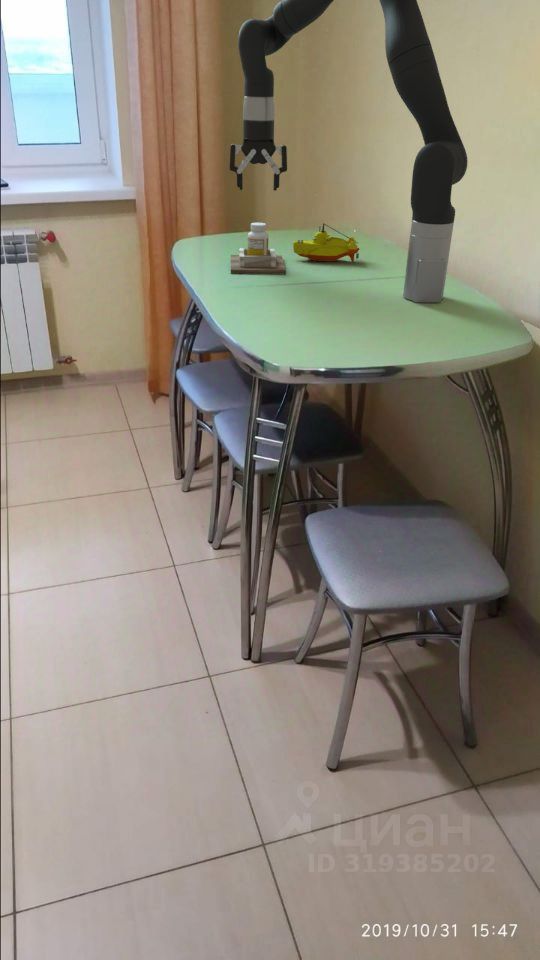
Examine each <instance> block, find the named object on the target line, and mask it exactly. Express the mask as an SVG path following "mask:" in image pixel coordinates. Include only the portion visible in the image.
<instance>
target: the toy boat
mask: <svg viewBox="0 0 540 960" xmlns="http://www.w3.org/2000/svg"><path fill="white" fill-rule="evenodd" d="M325 226H326V227H328V228H330V229H332V230H333V231H335V232H337V233H338V234H340V235H342V236H344V237H345V238H347V240H346V239H344V238H341V237H334V236H331V234H330V233H328V232H327V231H326V230H325ZM318 228H319V231H317V232H316V233H315V234H314V236H313V239H312V240H305V239H304V240H303V239H301V240H300V239H299V240H294V241H293V243H292V244H293V252H294V253H295V254H297V256H299V257H302V258H307V259H308V260H312V261H315V262H316V261H317V262H318V261H319V262H320V261H321V262H324V261H325V262H331V261H332V262H335V261H337V260H341V259H342V258H344V257H346V256H348V257H349V259H350V260H351V262H352V261H354V262H355V259H356V260H357V259H359V255H360V253H359V250H360V247H358V244H359V242H357V241H356V240H355V237H354V236H348V235H345V234H344V233H341V232H340V231H338V230H337V229H334V228H333V227H331V226H329V225H327V224H326V223H324V222H323V223H322V229H321V227H318ZM330 236H331V237H330ZM355 254H356V255H355Z"/></svg>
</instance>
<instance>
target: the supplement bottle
mask: <svg viewBox="0 0 540 960" xmlns="http://www.w3.org/2000/svg"><path fill="white" fill-rule="evenodd" d="M266 230H267V224H266V223H264V222H251V223H250V231H249V232H248V234H247V248H248V256H268V249H269V233H268V232H267V231H266Z"/></svg>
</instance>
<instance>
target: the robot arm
mask: <svg viewBox="0 0 540 960" xmlns="http://www.w3.org/2000/svg"><path fill="white" fill-rule="evenodd" d="M334 1H335V0H281V1H279V2H278V3H277V4H276V5H275V7H274V8H273V11H272V14H271V16H269V17H268V18H266V19H256V18H255V19H254V18H250V19H247V20H245V21H244V22H243V23H242V25H241V27H240V29H239V33H238V38H237V43H238V52H239V53H238V55H239V57H240V63H241V69H242V72H243V77H244V78H243V79H244V80H243V82H244V85H243V88H244V89H243V90H244V92H243V94H244V95H243V96H244V97H243V106H242V131H243V132H242V135H243V136H242V137H243V138H242V144H241V145H240V144H235V143H231V144H230V151H229V170H230V171H231V172H234V173H235V174H236V187H237V188H239V191H243V171H244V170H245V168H246V167H247V166H248V164H249V163H250V164H251V165H256V164H261V165H265V164H267V163H268V164H269V167H270V168H271V169H272V171H273V184H272V185H273V187H272V188H273V189H272V190H273V191H274V192H276V191H277V189H279V188H280V175H281V174H282V173H287V171H288V155H287V154H288V153H287V152H288V148H287V146H286V144H282V145H275V116H276V115H275V101H274V100H275V99H274V96H275V95H274V94H275V93H274V91H275V90H274V89H275V88H274V87H275V76H274V72H273V71H272V69H270V68H268V66H267V59H266V56H267V57H268V56H271V55H273V54H274V53H277V52H278V51H279V50H280V49H282V48H283V47H284V46H285V45H286V44H287V43H288V42H289V41H290V40H291V38H292V37H293V36H294V35H296V34H297V33H299V32H301V31H302V30H304V29H305V28H307V27H309V26H310V25H311V24H313V23H314V22H315V21H317V20H318V19H319V18H320V17H321V16H322V15H323V14H324V13H325V11H327V9H329V6H330V5H331V4H332V3H333V2H334ZM379 3H380V6H381V8H382V12H383V17H384V26H385V27H384V28H385V29H384V30H385V32H384V34H385V35H384V36H385V39H384V44H385V45H384V47H385V57H386V60H387V65H388V68H389V71H390V74H391V78H392V81H393V84H394V86H395V89H396V91H397V93H398V95H399V97H400V98H401V100H402V102H403V103H404V105H405V106H406V108H407V110H408V111H409V112H410V113H411V115H412V116H413V118H414V120H415V122H416V123H417V125H418V128H419V131H420V133H421V135H422V139H423V142H424V143H423V144H424V146H422V147H421V149H420V150H419V151H418V152H417V154H416V157H415V159H414V163H413V168H412V175H411V176H412V178H411V179H412V180H411V187H410V188H411V190H410V208H411V211H412V216H411V224H410V232H409V242H408V248H407V256H406V257H407V258H406V266H405V275H404V283H403V284H404V285H403V294H402V296H403V298H405V299H407V300H409V301H412V302H413V303H441V302H442V301H443V298H444V294H445V286H446V279H447V278H446V277H447V271H448V264H449V259H450V258H449V257H450V250H451V243H452V237H453V230H454V224H455V219H456V218H455V217H456V209H455V207H454V206H453V205H452V201H451V199H452V188H453V186H454V185H456V184H457V183H459V182H460V181H461V180H462V179H463V178H464V176H465V175H466V172H467V169H468V156H467V151H466V148H465V146H464V143H463V141H462V138H461V136H460V133H459V131H458V128H457V127H456V126H457V125H456V123H455V121H454V119H453V117H452V113H451V110H450V107H449V104H448V100H447V97H446V93H445V89H444V85H443V83H442V79H441V75H440V71H439V67H438V64H437V63H438V62H437V60H436V57H435V53H434V49H433V46H432V44H431V43H432V42H431V40H430V37H429V35H428V31H427V28H426V25H425V21H424V19H423V15H422V13H421V9H420V7H419V3H418V0H379ZM240 151H241V152H242V153H243V155H244V158H243V159H242V161H241V163H239V166H237V165H235V163H236V155H238V154H239V152H240ZM276 151H277V152H278V155H279V156H280V157H281V166H279V167H278V166H277V164H276V163H275V161H274V159H273V158H272V157H273V155H274V154H275V152H276Z"/></svg>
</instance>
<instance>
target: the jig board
mask: <svg viewBox="0 0 540 960" xmlns="http://www.w3.org/2000/svg"><path fill="white" fill-rule="evenodd" d="M238 249H239V250H238V251H239V253H238V254H230V274H237V275H238V274H240V275H241V274H252V275H253V274H255V275H286V267H285V263H284V258H283V255H280V254H279V255H276V251H275V248H268V256H248V247H246V248H245V247H244V248H243V247H241V248H238Z"/></svg>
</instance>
